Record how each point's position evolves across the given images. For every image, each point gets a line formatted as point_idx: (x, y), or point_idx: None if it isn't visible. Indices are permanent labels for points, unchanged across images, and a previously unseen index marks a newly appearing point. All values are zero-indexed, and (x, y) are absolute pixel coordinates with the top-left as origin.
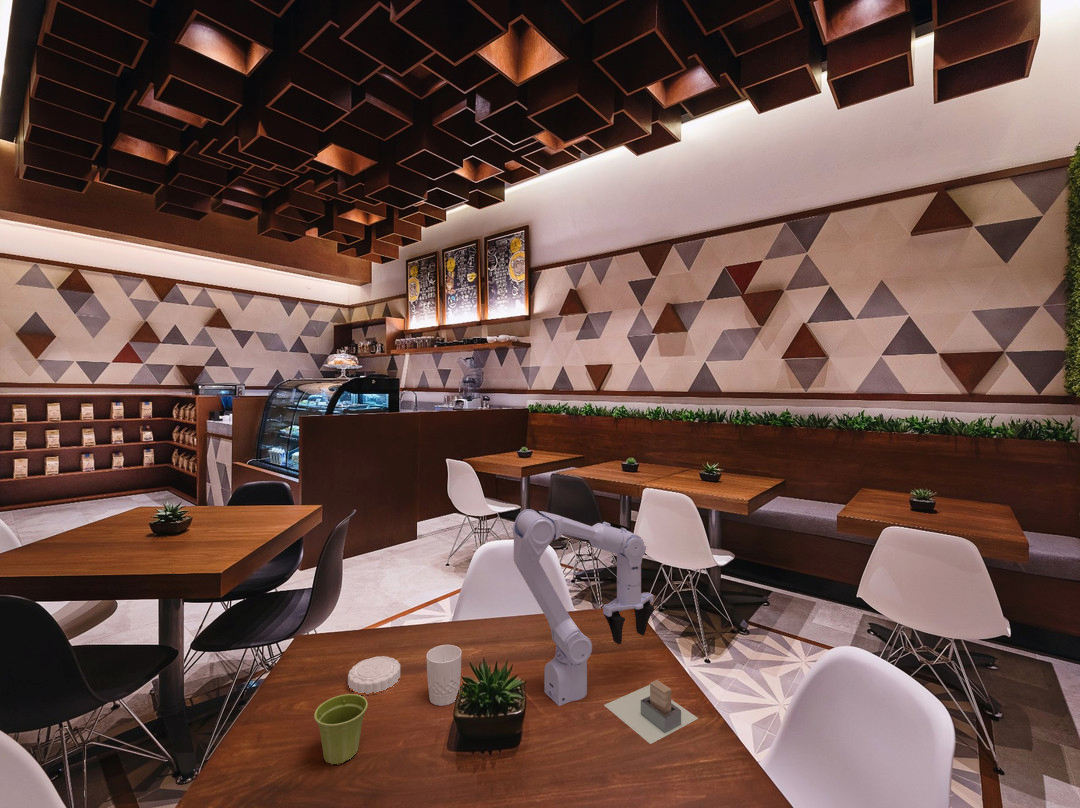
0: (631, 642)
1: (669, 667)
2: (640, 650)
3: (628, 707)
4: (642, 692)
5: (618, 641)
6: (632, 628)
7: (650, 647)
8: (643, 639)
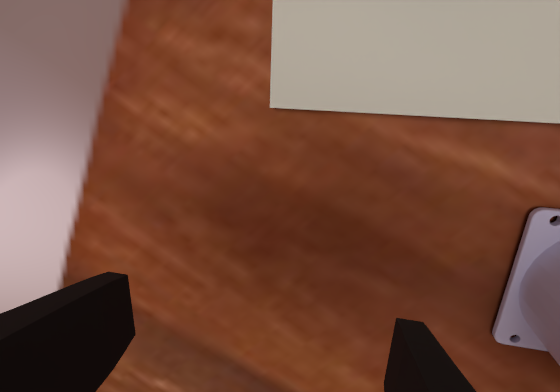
0: None
1: (102, 161)
2: None
3: (513, 30)
4: (346, 82)
5: (439, 348)
6: None
7: None
8: None
